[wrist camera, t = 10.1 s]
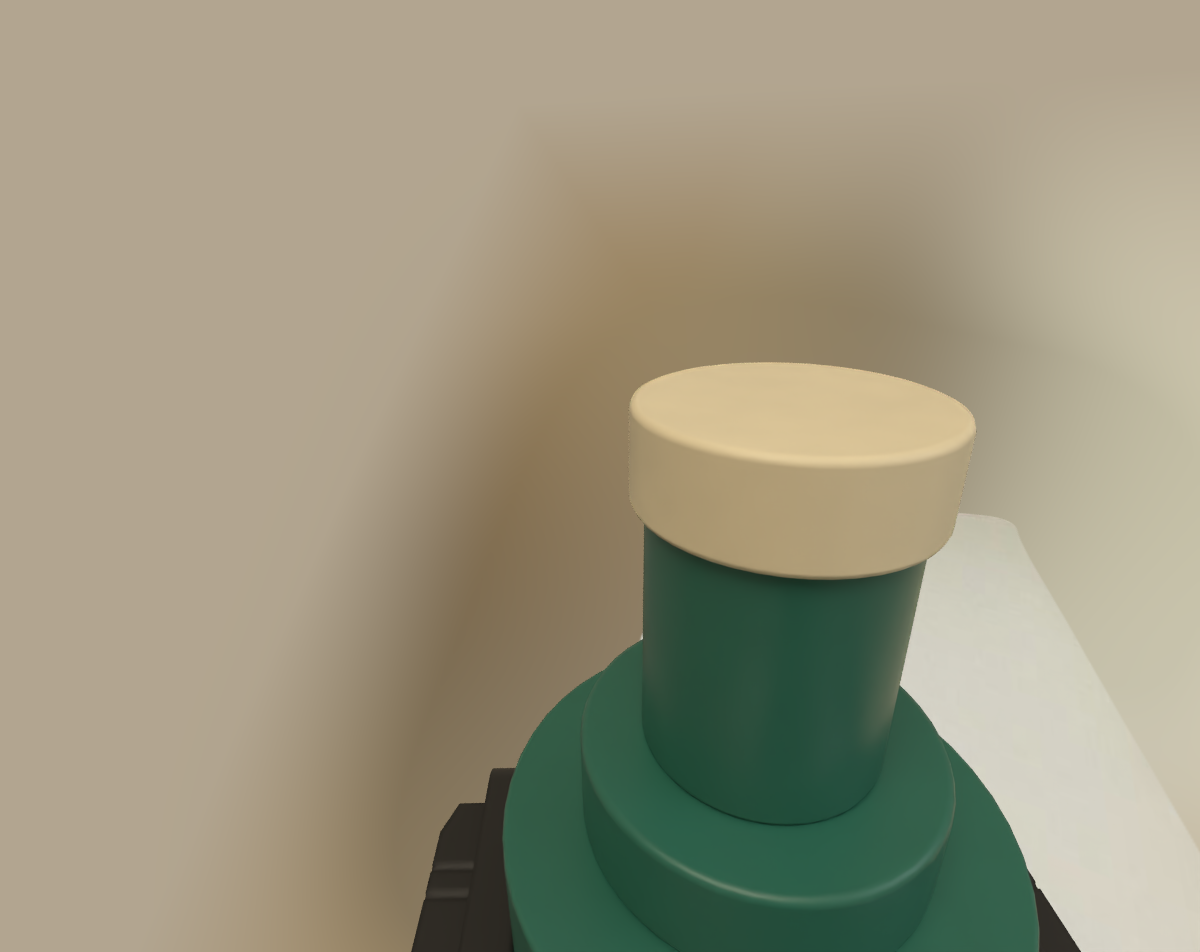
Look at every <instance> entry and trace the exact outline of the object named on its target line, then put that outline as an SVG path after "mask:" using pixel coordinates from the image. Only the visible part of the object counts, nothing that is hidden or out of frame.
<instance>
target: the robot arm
mask: <svg viewBox="0 0 1200 952" xmlns="http://www.w3.org/2000/svg"><path fill="white" fill-rule="evenodd" d="M515 769H516V768H494V769H492V771H491V774H490V778H489V783H488V789H487V794H486V800H485V803H464V804H459V805H458V807H457V808H456V810H455V811H454V813H453V814H452V816H451V817H450V819H449V820H448V822H447V823H446V825H445V826H444V828H443V829H442V831H441V832H440V836H439V840H438V844H437V849H436V853H435V857H434V861H433V868H432V872H431V873H430V878H429V881H428V886H427V890H426V898H425V900H424V902H423V906H422V910H421V914H420V918H419V923H418V927H417V931H416V935H415V939H414V943H413V947H412V951H411V952H514V947H513V938H512V929H511V921H510V912H509V904H508V895H507V886H506V878H505V869H504V855H503V841H502V836H503V822H504V809H505V804H506V800H507V795H508V791H509V786H510V782H511V779H512V776H513V774H514V771H515ZM1027 870H1028V869H1027ZM1028 873H1029V871H1028ZM1029 877H1030V880H1031V884H1032V887H1033V890H1034V894H1035V901H1036V908H1037V915H1038V922H1039V952H1081V951H1080V950H1079V948H1078V947H1077V945H1076V943H1075V942H1074V940H1073V939H1072V937H1071V936H1070V934H1069V933H1068V931H1067V930H1066V928H1065V926H1064V925H1063V923H1062V922H1061V920H1060V919H1059V917H1058V916H1057V914H1056V913H1055V911H1054V910H1053V908H1052V906H1051V905H1050V903H1049V902H1048V900H1047V899H1046V897H1045V896H1044V894H1043V893H1042V891H1041V889H1038V888H1037V887H1036V884H1035V880H1034V879H1033V877H1032V876H1031V874H1030V873H1029Z"/></svg>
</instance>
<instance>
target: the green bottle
mask: <svg viewBox="0 0 1200 952" xmlns="http://www.w3.org/2000/svg"><path fill="white" fill-rule="evenodd" d="M976 432H977V431H976V425H975V421H974V417H973V416H972V414H971V413H970V411H969V410H968V409H967V408H966V407H965V406H964V405H962V404H961V403H959V402H958V401H956V400H955V399H953V398H952V397H949V396H947V395H945V394H943V393H941V392H939V391H936V390H934V389H931V388H929V387H926V386H923V385H921V384H918V383H915V382H911V381H908V380H905V379H901V378H897V377H893V376H888V375H884V374H879V373H874V372H868V371H863V370H857V369H850V368H844V367H835V366H826V365H815V364H800V363H774V362H772V363H771V362H767V363H734V364H721V365H712V366H705V367H697V368H692V369H687V370H682V371H679V372H674V373H671V374H668V375H664V376H662V377H659V378H656V379H654V380H652V381H649V382H647V383H646V384H644V385H643V386H641V387H640V388H639V389H638V390H637V391H636V392H635V393H634V395H633V397H632V399H631V401H630V403H629V497H630V501H631V504H632V506H633V509H634V510H635V512H636V514H637V516H638V517H639V518H640V520H641V521H642V522H643V523H644V587H643V590H644V591H643V639H642V640H640V641H639V642H637V643H636V644H634V645H632V646H631V647H629V648H628V649H626V650H625V651H624V652H623V653H621V654H620V655H619V656H618V657H616V658H615V659H614V660H613V661H612V662H611V663H610V665H609V666H608V667H607V668H606V669H605V670H603V671H601V672H599V673H598V674H596V675H595V676H593V677H591V678H590V679H588V680H586V681H585V682H583V683H582V684H580V685H579V686H578V687H576V688H575V689H574V690H573V691H571V692H570V693H569V694H568V695H566V696H565V697H564V698H563V699H562V700H561V701H560V702H559V703H558V704H557V705H556V706H555V707H554V708H553V709H552V710H551V711H550V712H549V713H548V714H547V715H546V717H545V718H544V719H543V720H542V722H541V723H540V725H539V726H538V727H537V729H536V730H535V731H534V733H533V734H532V736H531V738H530V740H529V741H528V743H527V745H526V747H525V748H524V750H523V752H522V754H521V756H520V758H519V761H518V763H517V766H516V769H515V771H514V774H513V776H512V779H511V782H510V786H509V791H508V795H507V800H506V804H505V809H504V822H503V836H502V841H503V855H504V869H505V878H506V886H507V895H508V904H509V912H510V921H511V929H512V938H513V947H514V952H1039V922H1038V915H1037V908H1036V901H1035V894H1034V890H1033V887H1032V884H1031V880H1030V877H1029V873H1028V870H1027V867H1026V863H1025V860H1024V857H1023V854H1022V852H1021V850H1020V848H1019V845H1018V843H1017V841H1016V839H1015V836H1014V834H1013V832H1012V830H1011V827H1010V825H1009V823H1008V822H1007V820H1006V818H1005V817H1004V815H1003V813H1002V812H1001V810H1000V808H999V807H998V805H997V803H996V802H995V800H994V798H993V796H992V795H991V794H990V792H989V791H988V790H987V788H986V787H985V786H984V784H983V783H982V782H981V780H980V779H979V778H978V776H977V775H976V774H975V772H974V771H973V770H972V769H971V768H970V766H969V765H968V764H967V763H966V762H965V761H964V760H963V759H962V758H961V757H960V756H959V754H958V753H957V752H956V751H955V750H954V749H953V748H952V747H951V746H950V745H949V744H948V743H947V742H946V741H945V740H944V739H942V738H941V737H940V736H939V735H938V733H937V731H936V729H935V727H934V726H933V724H932V722H931V721H930V719H929V718H928V717H927V715H926V714H925V713H924V711H923V710H922V709H921V707H920V706H919V705H918V704H917V703H916V702H915V700H914V699H913V698H912V697H911V696H910V695H909V694H908V693H907V692H906V691H905V690H904V689H903V688H902V687H901V686H900V681H901V676H902V671H903V667H904V662H905V658H906V653H907V648H908V644H909V639H910V634H911V630H912V625H913V621H914V616H915V611H916V607H917V602H918V598H919V593H920V588H921V584H922V579H923V575H924V570H925V565H926V561H927V559H929V558H930V557H932V556H933V555H934V554H936V553H937V552H938V551H939V550H940V549H941V548H942V547H943V546H944V545H945V544H946V543H947V541H948V540H949V538H950V537H951V536H952V533H953V530H954V527H955V523H956V518H957V514H958V509H959V505H960V501H961V497H962V492H963V488H964V483H965V479H966V475H967V471H968V466H969V462H970V458H971V453H972V449H973V445H974V441H975V436H976Z"/></svg>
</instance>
